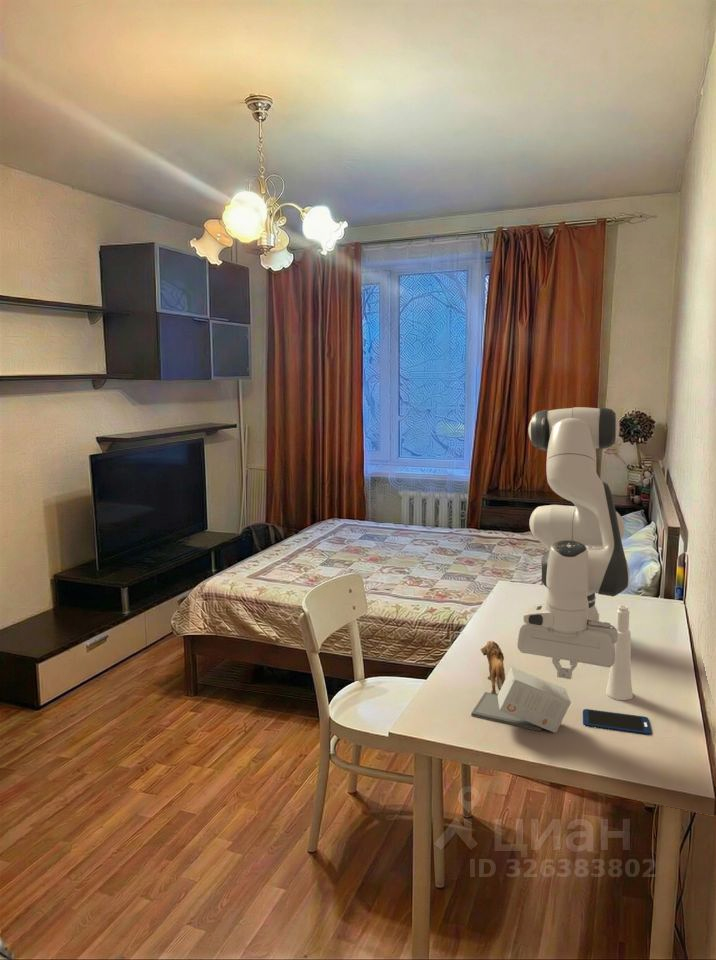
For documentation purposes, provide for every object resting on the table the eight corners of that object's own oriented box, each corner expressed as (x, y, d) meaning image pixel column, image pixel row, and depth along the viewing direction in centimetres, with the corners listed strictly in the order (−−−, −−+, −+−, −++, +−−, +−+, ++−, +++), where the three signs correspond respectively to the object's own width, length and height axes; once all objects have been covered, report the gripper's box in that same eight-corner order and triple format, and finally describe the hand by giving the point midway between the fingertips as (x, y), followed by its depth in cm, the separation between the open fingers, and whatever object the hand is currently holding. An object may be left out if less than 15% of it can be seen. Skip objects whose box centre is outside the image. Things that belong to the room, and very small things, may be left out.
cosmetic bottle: (623, 687, 160) (627, 601, 157) (638, 699, 154) (642, 610, 151) (600, 689, 159) (604, 603, 156) (614, 701, 153) (618, 612, 150)
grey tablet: (485, 694, 158) (485, 691, 158) (550, 708, 151) (550, 705, 151) (471, 715, 148) (471, 712, 148) (540, 731, 141) (540, 728, 141)
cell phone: (652, 737, 139) (652, 733, 139) (583, 727, 143) (583, 724, 143) (648, 720, 146) (648, 716, 145) (582, 711, 150) (582, 708, 150)
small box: (566, 688, 145) (511, 665, 145) (571, 702, 138) (514, 679, 139) (550, 718, 146) (496, 695, 147) (555, 734, 140) (499, 710, 141)
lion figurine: (479, 671, 170) (479, 638, 169) (499, 670, 170) (499, 638, 169) (493, 698, 156) (493, 663, 154) (515, 697, 156) (516, 662, 155)
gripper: (619, 619, 139) (616, 680, 141) (522, 605, 148) (521, 663, 150) (616, 629, 133) (613, 693, 135) (516, 614, 142) (515, 674, 144)
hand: (564, 677), depth 143 cm, fingers closed
